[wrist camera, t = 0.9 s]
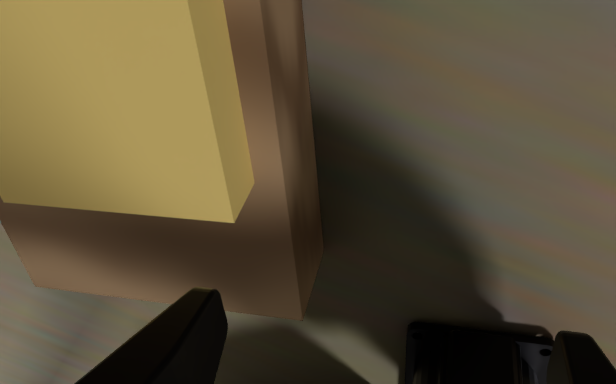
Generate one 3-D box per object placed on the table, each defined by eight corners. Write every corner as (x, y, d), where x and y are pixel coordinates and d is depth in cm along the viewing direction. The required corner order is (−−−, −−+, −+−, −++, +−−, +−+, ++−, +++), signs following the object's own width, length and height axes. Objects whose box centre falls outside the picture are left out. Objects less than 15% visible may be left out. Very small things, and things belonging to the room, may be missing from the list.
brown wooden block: (323, 250, 25) (302, 320, 22) (83, 226, 28) (35, 286, 25) (266, -395, 13) (200, -441, 10) (-148, -323, 16) (-300, -341, 13)
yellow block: (254, 182, 18) (234, 222, 17) (40, 167, 20) (3, 202, 18) (215, -46, 14) (183, -21, 12) (-53, -39, 16) (-110, -16, 14)
